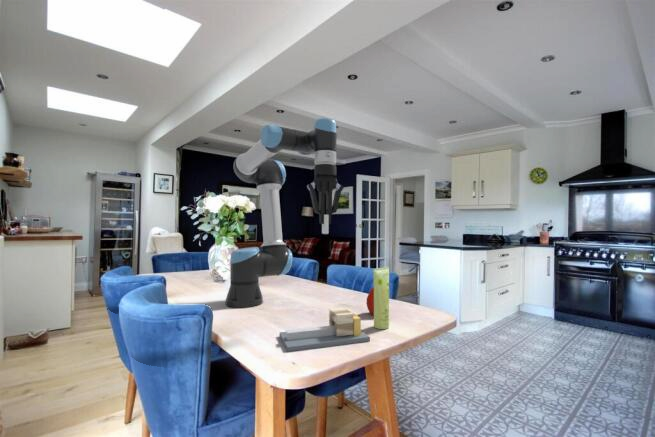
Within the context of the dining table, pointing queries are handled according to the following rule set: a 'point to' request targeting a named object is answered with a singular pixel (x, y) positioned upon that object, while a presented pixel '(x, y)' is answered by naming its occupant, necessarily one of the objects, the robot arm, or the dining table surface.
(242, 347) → the dining table surface
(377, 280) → the tube
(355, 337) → the rail board
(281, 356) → the dining table surface
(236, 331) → the dining table surface
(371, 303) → the apple
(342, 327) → the beige wooden sliding block
